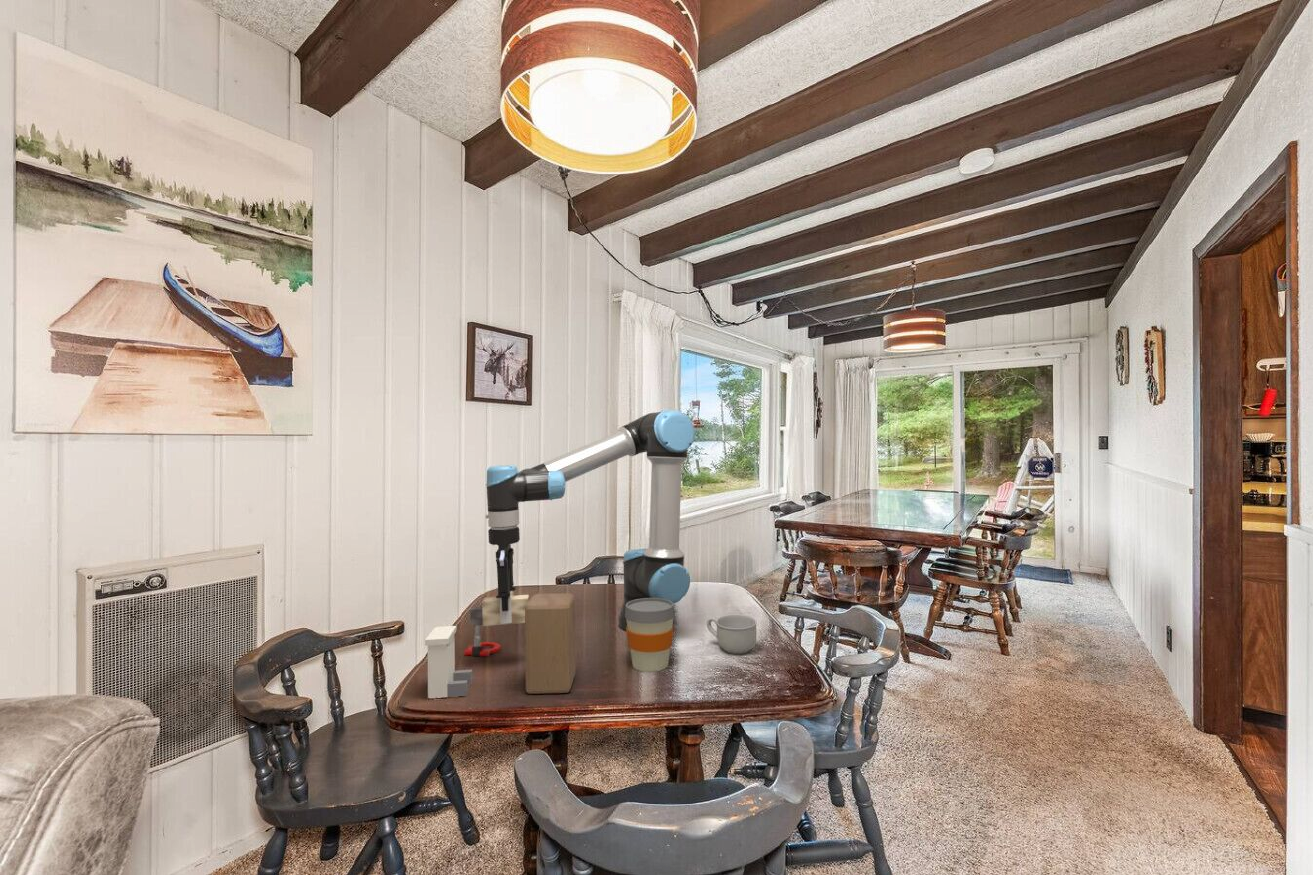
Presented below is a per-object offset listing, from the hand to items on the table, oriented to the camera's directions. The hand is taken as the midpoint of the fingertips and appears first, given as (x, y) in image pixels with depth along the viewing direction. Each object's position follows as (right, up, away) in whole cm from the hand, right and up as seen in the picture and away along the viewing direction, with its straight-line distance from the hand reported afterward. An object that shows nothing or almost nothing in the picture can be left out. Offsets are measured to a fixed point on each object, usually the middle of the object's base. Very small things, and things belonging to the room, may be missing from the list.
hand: (507, 620), depth 141 cm
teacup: (+58, -11, +10) cm, 60 cm away
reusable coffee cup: (+36, -11, 0) cm, 38 cm away
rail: (-2, 0, 0) cm, 2 cm away
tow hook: (-9, -12, +11) cm, 19 cm away
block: (+13, -11, -12) cm, 21 cm away
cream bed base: (-9, -11, -14) cm, 20 cm away
